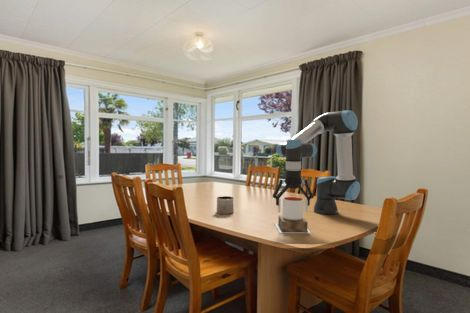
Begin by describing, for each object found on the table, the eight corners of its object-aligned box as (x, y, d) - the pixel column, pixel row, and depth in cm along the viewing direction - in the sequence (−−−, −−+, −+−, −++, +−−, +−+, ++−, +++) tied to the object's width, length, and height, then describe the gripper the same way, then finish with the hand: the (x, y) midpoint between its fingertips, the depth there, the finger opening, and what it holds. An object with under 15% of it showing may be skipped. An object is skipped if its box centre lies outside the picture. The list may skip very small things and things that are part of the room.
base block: (301, 225, 144) (301, 215, 144) (307, 232, 132) (307, 222, 132) (278, 224, 144) (278, 215, 144) (282, 232, 132) (282, 221, 132)
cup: (280, 216, 142) (280, 197, 142) (299, 215, 143) (299, 197, 143) (285, 221, 132) (285, 200, 132) (305, 221, 133) (306, 200, 133)
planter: (213, 213, 173) (213, 198, 173) (221, 209, 183) (221, 195, 183) (229, 215, 169) (229, 199, 168) (236, 211, 179) (236, 196, 179)
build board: (303, 226, 146) (303, 223, 146) (312, 236, 130) (312, 233, 130) (273, 226, 146) (274, 223, 146) (278, 236, 130) (278, 233, 130)
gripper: (315, 169, 141) (315, 210, 142) (267, 169, 141) (266, 210, 141) (320, 170, 133) (319, 213, 134) (269, 170, 133) (268, 213, 134)
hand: (292, 212), depth 138 cm, fingers open, 13 cm apart
